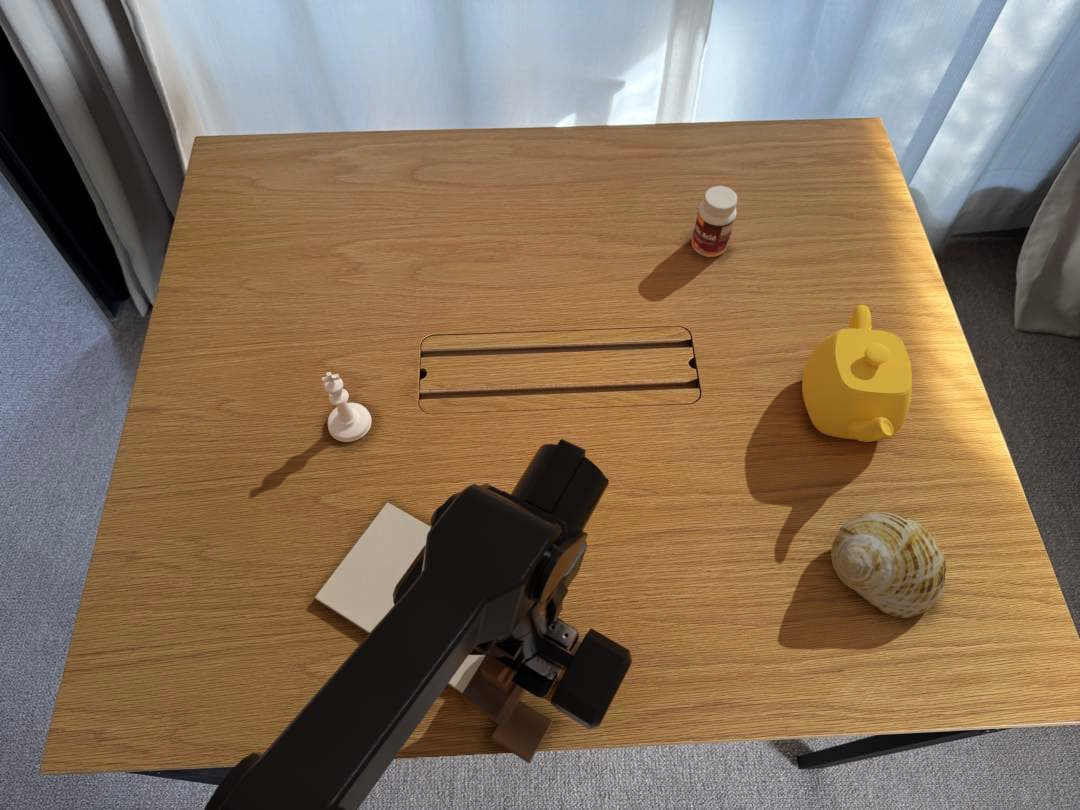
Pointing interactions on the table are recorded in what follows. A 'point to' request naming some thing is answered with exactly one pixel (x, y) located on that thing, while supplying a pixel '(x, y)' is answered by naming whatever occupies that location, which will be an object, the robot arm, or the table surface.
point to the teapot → (858, 382)
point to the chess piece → (345, 412)
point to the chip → (523, 732)
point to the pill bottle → (715, 221)
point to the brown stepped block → (493, 691)
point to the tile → (382, 576)
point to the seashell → (890, 563)
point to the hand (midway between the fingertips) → (513, 656)
